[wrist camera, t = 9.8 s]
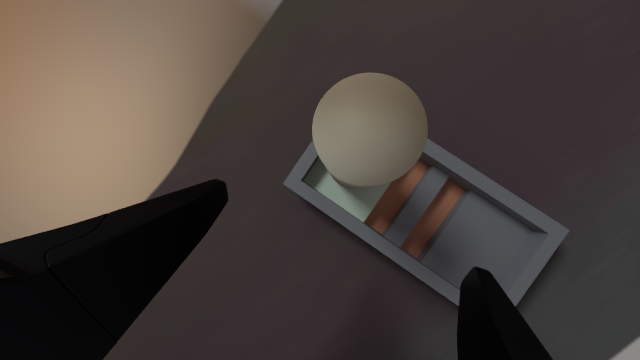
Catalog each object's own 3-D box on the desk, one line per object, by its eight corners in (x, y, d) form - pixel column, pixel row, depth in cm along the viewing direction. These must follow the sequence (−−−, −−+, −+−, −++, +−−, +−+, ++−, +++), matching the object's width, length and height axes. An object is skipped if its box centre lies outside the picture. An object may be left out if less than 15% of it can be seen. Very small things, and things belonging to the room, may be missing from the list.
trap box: (474, 312, 21) (496, 332, 18) (290, 184, 23) (282, 183, 20) (536, 224, 21) (569, 230, 18) (347, 100, 23) (348, 87, 20)
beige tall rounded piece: (373, 190, 21) (420, 193, 9) (324, 184, 21) (305, 178, 9) (379, 142, 21) (434, 78, 9) (331, 136, 21) (320, 67, 9)
